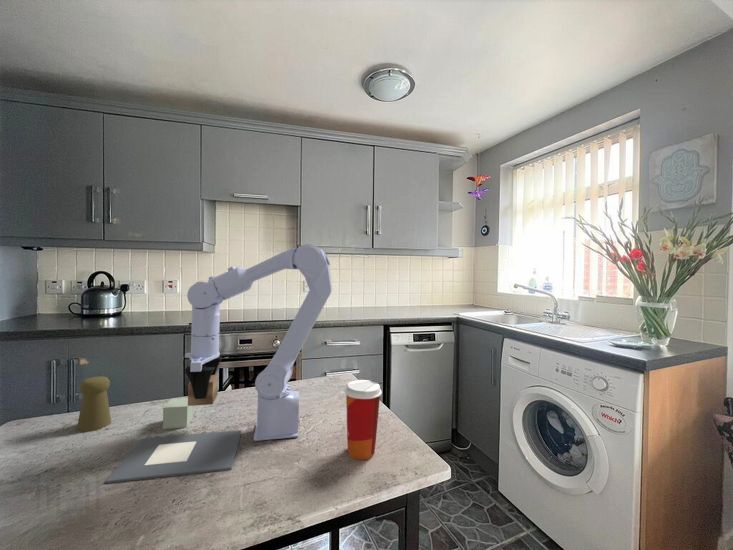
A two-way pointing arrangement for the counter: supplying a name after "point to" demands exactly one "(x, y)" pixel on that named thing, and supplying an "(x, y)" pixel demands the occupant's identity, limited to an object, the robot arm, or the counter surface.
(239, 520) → the counter surface
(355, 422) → the paper cup
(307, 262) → the robot arm
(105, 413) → the cork
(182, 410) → the sage block
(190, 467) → the mat
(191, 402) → the walnut block
